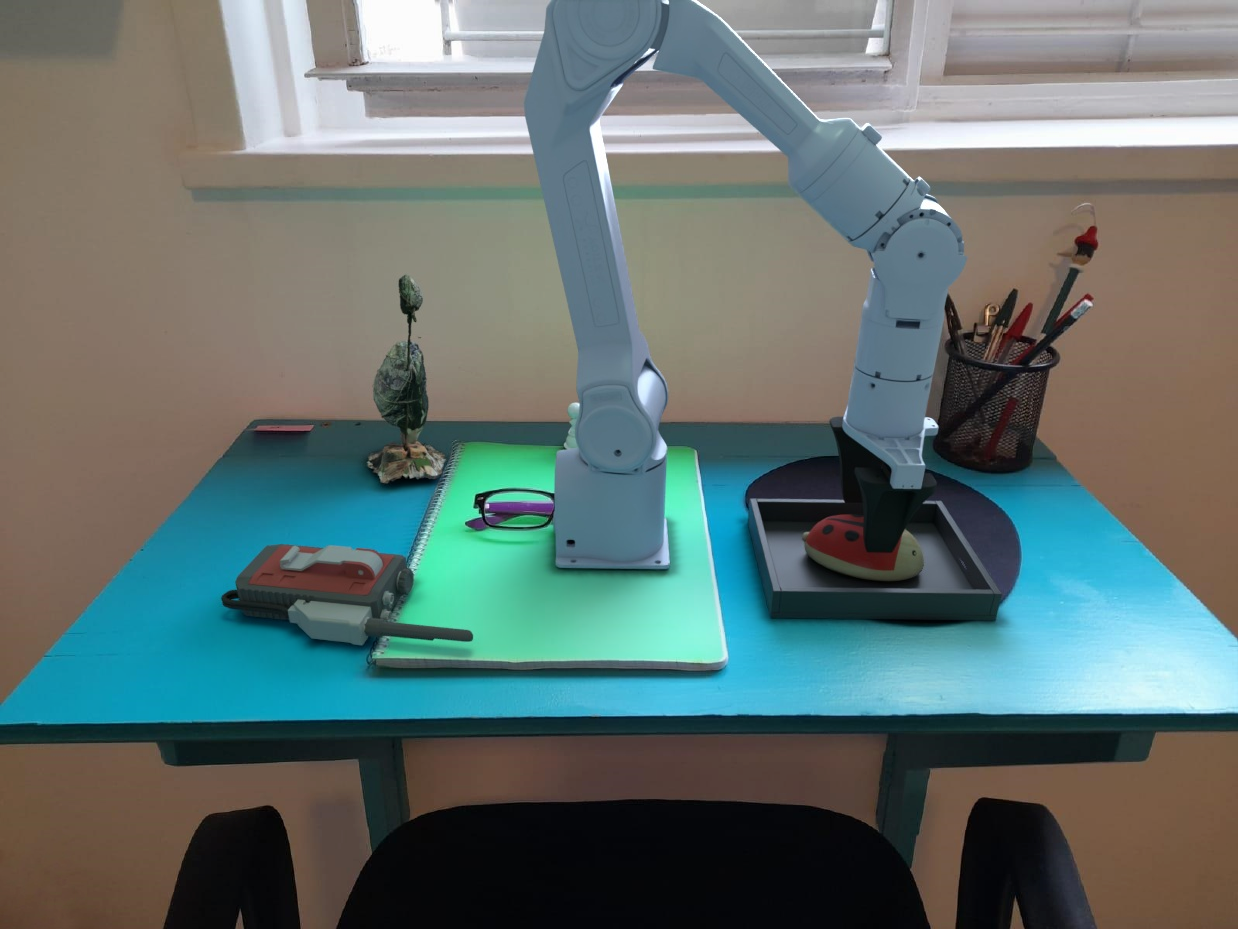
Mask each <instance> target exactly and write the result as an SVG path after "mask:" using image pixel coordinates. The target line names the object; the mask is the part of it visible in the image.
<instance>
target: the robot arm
mask: <svg viewBox="0 0 1238 929" xmlns="http://www.w3.org/2000/svg"><path fill="white" fill-rule="evenodd" d="M655 55H656V57H655V60H654V62H653V64H652V70H653V71H658V72H663V73H668V74H674V75H679V76H684V77H688V78H689V77H690V78H695V79H697V80H700V81H701V82H703V83H704V84H705V85H706V86H707V87H708V88H710V90H712V91H713V92H714V93H715V94H716V95H717V96H718V97H720V99H721V100H723V101H724V102H725V103H726V104H727V105H728V106H730V107H731V108H732V109H733V110H734V111H735V112H737V113H738V114H739V115H740V116H741V117H742V118H743V119H744V120H745V121H747V123H748V124H750V125H751V126H752V127H753V128H754V129H756V130H757V131H758V132H759V133H760V134H761V135H762V136H764V138H766V139H767V141H769V142H770V143H771V144H772V145H773V146H774V147H776V148H777V149H778V150H779V151H780V152H781V153H782V154H784V155H785V156H786V158H787V184H788V187H789V188H790V189H791V190H792V191H793V192H795V194H796V195H797V196H798V197H799V198H800V199H802V201H804V202H805V203H806V205H808V206H809V207H810V208H811V209H812V210H813V211H814V212H815V213H816V214H818V216H820V217H821V219H823V220H824V221H825V222H826V223H827V224H828V225H829V226H830V227H831V228H832V229H833V230H834V231H836V232H837V233H838V235H839V236H841V237H842V238H843V239H844V240H845V241H846V242H847V243H848V244H849V245H850V246H852V247H854V248H858V249H863V250H866V252H867V256H868V258H869V259H870V262H872V263H873V267H871V268H870V272H869V279H868V286H867V293H866V298H865V300H864V301H863V304H862V308H861V315H860V321H859V328H858V334H857V342H856V349H855V355H854V362H853V369H852V374H851V382H850V386H849V388H848V389H849V390H848V396H847V397H848V398H847V402H846V408H845V412H844V413H843V416H833V417H831V418H829V425H830V428H831V430H832V433H833V437H834V439H835V443H836V448H837V454H838V460H839V461H838V462H839V471H840V472H839V474H840V487H841V496H842V500H844V502H845V503H863V510H864V518H863V539H864V545H865V549H866V551H867V552H873V553H892V552H893V551H894V549H895V547H896V545H897V544H898V542H899V540H900V538H901V536H902V534H903V532H904V530H905V528H906V526H907V524H908V522H909V521H910V519H911V518H912V516H913V515H914V513H915V512H916V511H917V509H918V508H919V507H920V506H921V505H922V504H923V503H924V502H925V501H928V499H929V498H930V497H932V496H933V495H934V494H935V492H936V490H937V485H938V483H937V480H936V479H935V478H934V476H933V474H932V473H930V472H925V471H926V464H925V461H924V459H923V449H924V444H925V443H924V442H925V437H933V436H937V435H938V433H939V428H940V427H939V425H938V424H937V422H936V421H935V419H934V418H932V417H927V416H926V413H927V409H928V404H929V398H930V394H931V390H932V388H931V387H932V383H933V377H934V373H935V369H936V363H937V358H938V357H937V356H938V353H939V348H940V342H941V338H942V332H943V326H944V323H945V316H946V312H945V306H946V302H947V298H948V294H949V287H951V286H952V285H953V284H954V283H955V282H956V281H957V279H958V278H959V277H960V276H961V274H962V272H963V270H964V269H965V266H966V264H967V261H968V256H967V255H966V254H965V242H964V239H963V233H962V231H961V229H960V227H959V225H958V224H957V223H956V222H955V221H954V219H953V218H952V217H951V216H950V215H949V214H948V213H947V212H946V210H945V209H944V208H943V207H942V206H941V205H940V204H939V202H938V199H937V198H936V197H934V196H933V195H931V194H929V193H930V191H931V186H930V185H929V184H928V183H927V182H926V181H925V180H924V179H923V178H922V177H921V176H918V177H916V178H915V179H913V178H912V177H911V176H909V175H908V173H907V172H906V171H904V169H903V168H902V167H901V166H900V165H898V163H897V162H895V161H894V160H893V159H892V158H891V156H889V155H888V154H887V153H886V152H885V151H884V150H883V149H882V148H881V147H880V146H879V145H878V144H879V143H880V141H881V140H882V138H883V136H882V135H881V133H880V132H879V131H877V129H875V128H874V127H873V126H872V125H871V123H869V122H866V123H865V124H864V125H863V126H862V127H860V126H859V125H858V124H857V123H856V122H855V121H854V120H853V119H852V118H849V117H841V118H830V119H829V118H828V119H822V118H819V117H818V116H817V114H815V113H814V112H813V111H812V110H811V109H810V108H809V107H808V106H807V105H806V103H804V101H802V100H801V99H800V98H799V96H798V95H796V93H795V92H794V91H793V90H791V88H790V87H789V86H788V85H787V84H786V83H785V82H784V81H783V80H782V79H781V78H780V77H779V76H778V75H777V73H775V72H774V71H773V70H772V69H771V68H770V67H769V66H768V65H767V63H766V62H764V60H763V59H762V58H760V56H759V55H758V54H757V53H756V52H755V51H754V50H753V49H752V48H751V47H750V46H749V45H748V44H747V43H746V42H745V40H743V39H742V37H741V36H739V34H738V33H737V32H736V31H735V30H734V29H733V28H732V27H731V26H730V25H729V24H728V23H727V22H726V21H725V20H724V19H723V18H722V17H721V16H719V15H718V14H716V13H715V12H714V11H713V10H711V9H709V8H708V7H707V6H705V5H704V4H703V3H701V2H700V1H698V0H550V1H549V3H548V4H547V6H546V7H545V19H544V29H543V34H542V38H541V40H540V43H539V48H538V52H537V55H536V58H535V62H534V64H533V65H534V66H533V69H532V71H531V72H532V73H531V75H530V79H529V81H528V86H527V90H526V93H525V96H524V99H523V100H524V101H523V110H524V111H523V112H524V118H525V122H526V127H527V131H528V136H529V140H530V145H531V149H532V153H533V158H534V163H535V167H536V171H537V175H538V180H539V185H540V188H541V193H542V198H543V201H544V207H545V210H546V215H547V220H548V225H549V228H550V233H551V237H552V241H553V245H554V246H553V247H554V250H555V255H556V259H557V264H558V268H559V272H560V277H561V281H562V285H563V286H562V287H563V290H564V294H565V297H566V304H567V308H568V312H569V317H570V322H571V325H572V330H573V334H574V338H575V344H576V346H577V366H576V368H577V369H576V384H575V385H576V387H575V388H576V393H577V398H578V403H579V415H578V418H577V421H576V425H575V439H576V443H577V446H578V447H577V448H572V449H566V448H565V449H559V450H557V451H556V454H555V464H554V492H553V493H554V494H553V495H554V497H553V498H554V511H553V516H552V517H553V518H552V523H553V524H552V528H553V529H552V530H553V532H554V534H555V535H554V536H555V566H556V567H557V568H559V569H610V570H611V569H613V570H614V569H618V570H621V569H622V570H624V569H625V570H668V569H670V566H671V558H670V545H669V532H668V518H666V517H665V516H666V493H667V492H666V490H667V485H666V484H667V467H668V466H667V465H668V445H667V444H666V442H665V440H664V439H663V437H662V436H661V434H660V431H659V427H660V423H661V420H662V417H663V414H664V412H665V410H666V409H667V405H668V404H669V403H668V402H669V386H668V384H667V381H666V379H665V376H664V375H663V373H662V372H661V371H660V369H659V368H657V366H656V364H655V363H654V362H653V359H652V356H651V353H650V349H649V348H650V347H649V343H648V341H647V339H646V337H645V336H644V334H643V333H642V331H641V329H640V326H639V320H638V314H637V310H636V304H635V299H634V295H633V289H632V284H631V283H632V282H631V278H630V272H629V268H628V262H627V257H626V252H625V248H624V243H623V238H622V232H621V227H620V223H619V217H618V212H617V207H616V206H617V205H616V201H615V196H614V191H613V186H612V181H611V176H610V170H609V165H608V160H607V154H606V150H605V145H604V138H603V133H602V129H601V118H602V116H603V115H604V113H605V111H607V109H608V107H609V106H610V104H611V103H612V101H613V100H614V98H615V97H616V95H617V94H618V93H619V91H620V90H621V88H622V87H623V85H624V83H625V80H627V78H628V77H629V76H631V75H632V74H633V73H634V72H635V71H636V70H639V68H641V67H642V66H643V65H644V64H646V63H647V62H648V61H650V59H652V58H653V57H654V56H655Z"/></svg>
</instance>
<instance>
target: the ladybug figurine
mask: <svg viewBox="0 0 1238 929" xmlns="http://www.w3.org/2000/svg"><path fill="white" fill-rule="evenodd" d="M863 518H864V516H863V515H855V514H849V515H834V516H830V517H827V518H825V519H823V520H822V521H820V522H819V523H817V524H816V525H815V526H814V527H813V528H812V530H811V531H810V532H805V533H804V534H803V537H802V540H803V541H804V542H805V551H806V552H807V554H808V555H809V556H810V557H811V558H812V559H813V560H814V561H816V562H817V563H819V564H820V565H822V566H824V567H826V568H828V569H831V570H833V571H836V572H839V573H842V574H845V575H848V576H852V577H856V578H861V579H866V580H874V581H901V580H906V579H909V578H911V577H913V576H915V575H917V574H918V573H919V572H920V571H921V570H922V568H923V565H924V558H923V553H922V550H921V548H920V545H919V543H918V542H917V540H916V539H915V538H914V537H913V535H912V534H911V533H909V532H908V531H907V530H906V529H905V530H904V532H903V534H902V536H901V538H900V540H899V542H898V544H897V545H896V547H895V549H894V551H893V552H892V553H873V552H867V551H866V549H865V545H864V539H863Z"/></svg>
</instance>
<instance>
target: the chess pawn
mask: <svg viewBox="0 0 1238 929" xmlns="http://www.w3.org/2000/svg"><path fill="white" fill-rule="evenodd" d="M566 411H567V414H568V417H569V418H571V419H569V422H568V423H569V424H570V425H571V427H570V428H569V430H568V432H567V433H568V434H567V436H566V438H565V442H564V443H563V447H564V448H565V450H566V449H572V448H577V447H578V446H577V443H576V439H575V425H576V421H577V418H578V415H579V402H571V403H570V404H569V405H568V407H567V410H566Z"/></svg>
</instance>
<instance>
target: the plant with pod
mask: <svg viewBox="0 0 1238 929" xmlns="http://www.w3.org/2000/svg"><path fill="white" fill-rule="evenodd" d="M398 293H399V307H400V310H401V313H402V314H403V315H406V323H407V324H408V328H407V329H408V331H407V332H408V336H407V340H401V341H397V342H396V343H395V344H393V345H392V346H391V348H390V350H388V352H387V354H386V355H385V358H384V359H383V360H382V364H381V365H380V367H379V368H378V369H377V370H376V374H375V376H374V378H373V383H372V392H373V393H372V394H373V401H374V404H375V405H376V408H377V410H378V412H379V413H380V416H381V418H382V419H383V420H385V422H387V423H388V424H389V425H391V426H393V427H397V428H399V430H400V434H399V435H400V437H399V439H400V442H401V443H396V442H391V443H388V444H386V445H384V446H383V448H382V449H381V450H378V451H377V452H372V453H371V452H370V453H369V454H368V457H367V458H368V461H367V462H366V466H367V467H368V468H370V470H371V469H373V471H372V473H374V474H375V473H376V474H377V476H379V479H380V483H383V484H389V483H390V481H391V482H395V481H396V480H397V479H402V476H403V477H404V478H405V479H408V477H409V479H414V478H416V480H419V479H424V478H426V479H427V478H428V480H431V479H432V480H436V479H438V478H440V477H441V476H442V475H443V472H444V471H443V468H444V464H445V462H446V461H447V459H446V455H445V454H444V452H443V451H441V450H436V449H435V448H434V447H435V446H431V444H429V443H426V442H424V443H421V442H420V441H418V439H419V436H420V434H421V432H422V431H423V429H424V428H425V424H426V422H427V420H428V419H427V418H428V412H429V397H428V391H427V373H426V367H425V364H424V360H425V359H424V354H423V352H422V349H420V347H419V344H418V343H416V342H414V341H412V340H411V336H412V323H413V322H415V323H417V322H418V320H417V317H416V312H417V311H419V310H420V308H421V307H422V305H423V302H424V296H423V293H422V291H421V289H420V287H419V286H418V285H417V283H416V281H415V280H414V279H413V278H412V277H411V276H410V275H409V274H408V273H406V274H404V275H403V276H401V277H400V278H398ZM417 339H422V336H417Z"/></svg>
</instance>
